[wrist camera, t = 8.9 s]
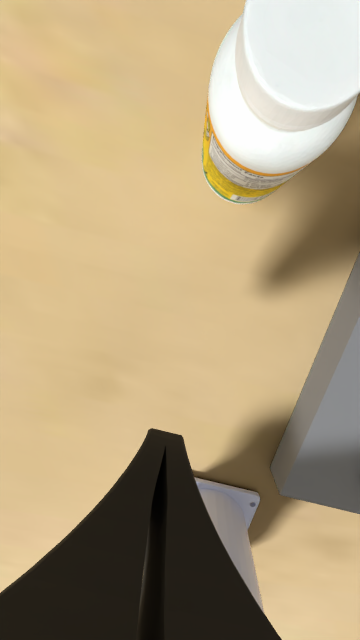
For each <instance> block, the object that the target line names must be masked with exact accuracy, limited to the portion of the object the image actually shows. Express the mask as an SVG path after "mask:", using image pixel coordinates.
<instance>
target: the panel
mask: <svg viewBox="0 0 360 640" xmlns="http://www.w3.org/2000/svg"><path fill="white" fill-rule="evenodd" d="M270 470H271V472H272V475H273V478H274V481H275V483H276V486H277V489H278V491H279V494H280V495H282V496H286V497H290V498H295V499H299V500H303V501H307V502H311V503H315V504H320V505H324V506H328V507H332V508H336V509H341V510H345V511H349V512H353V513H357V514H360V253H359V255H358V257H357V260H356V262H355V265H354V267H353V269H352V272H351V274H350V277H349V279H348V281H347V284H346V286H345V289H344V291H343V293H342V296H341V298H340V301H339V303H338V305H337V308H336V310H335V312H334V315H333V317H332V320H331V322H330V324H329V327H328V329H327V332H326V334H325V336H324V339H323V341H322V344H321V346H320V348H319V351H318V353H317V356H316V358H315V360H314V363H313V365H312V368H311V370H310V372H309V375H308V377H307V380H306V382H305V384H304V387H303V389H302V392H301V394H300V396H299V399H298V401H297V404H296V406H295V408H294V411H293V413H292V415H291V418H290V420H289V423H288V425H287V427H286V430H285V432H284V435H283V437H282V439H281V442H280V444H279V447H278V449H277V451H276V454H275V456H274V459H273V461H272V463H271V466H270Z"/></svg>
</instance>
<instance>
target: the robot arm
mask: <svg viewBox="0 0 360 640" xmlns="http://www.w3.org/2000/svg"><path fill="white" fill-rule="evenodd" d="M251 502H252V503H251ZM259 502H260V496H259V494H258V493H257V492H254V491H250V490H245V489H241V488H237V487H233V486H229V485H224V484H220V483H216V482H212V481H208V480H203V479H199V478H195V477H194V475H193V472H192V469H191V466H190V463H189V459H188V456H187V452H186V448H185V444H184V439H183V437H182V435H178V434H173V433H169V432H165V431H161V430H157V429H153V428H151V429H149V430H148V433H147V436H146V438H145V440H144V442H143V444H142V446H141V447H140V449H139V451H138V452H137V454H136V455H135V457H134V458H133V460H132V461H131V463H130V464H129V466H128V467H127V469H126V470H125V471H124V473H123V474H122V475H121V477H120V478H119V479H118V480H117V482H116V483H115V484H114V486H113V487H112V488H111V489H110V491H109V492H108V493H107V494H106V495H105V496H104V498H103V499H102V500H101V501H100V502H99V503H98V504H97V505H96V507H95V508H94V509H93V510H92V511H91V512H90V513H89V514H88V515H87V516H86V517H85V518H84V519H83V520H82V521H81V522H80V523H79V524H78V525H77V526H76V527H75V528H74V529H73V530H72V531H71V532H70V533H69V534H68V535H67V536H66V537H65V538H64V539H63V540H62V541H61V542H60V543H58V544H57V545H56V546H55V547H54V548H53V549H52V550H51V551H50V552H48V553H47V554H46V555H45V556H44V557H43V558H42V559H41V560H39V561H38V562H37V563H36V564H35V565H34V566H33V567H32V568H30V569H29V570H28V571H27V572H26V573H24V574H23V575H22V576H21V577H20V578H18V579H17V580H16V581H15V582H13V583H12V584H11V585H10V586H8V587H7V588H6V589H5V590H3V591H2V592H1V593H0V640H282V639H281V638H280V637H279V635H278V634H277V632H276V631H275V629H274V628H273V626H272V625H271V623H270V622H269V620H268V619H267V617H266V616H265V614H264V610H263V605H262V600H261V595H260V590H259V585H258V580H257V575H256V570H255V566H254V561H253V556H252V551H251V546H250V541H249V536H248V531H247V530H248V528H249V526H250V523H251V521H252V519H253V516H254V514H255V512H256V509H257V507H258V504H259ZM143 570H144V572H143ZM142 579H143V581H142ZM141 588H142V589H141Z"/></svg>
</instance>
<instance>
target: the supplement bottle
mask: <svg viewBox="0 0 360 640" xmlns="http://www.w3.org/2000/svg"><path fill="white" fill-rule="evenodd" d="M359 93H360V0H246V3H245V6H244V10H243V14H242V15H241V16H240V17H239V18H238V19H237V20H236V22H235V23H234V24H233V25H232V27H231V28H230V30H229V31H228V33H227V34H226V36H225V38H224V39H223V41H222V43H221V45H220V48H219V50H218V52H217V55H216V58H215V61H214V64H213V67H212V72H211V77H210V83H209V90H208V99H207V106H206V115H205V125H204V136H203V145H202V169H203V173H204V176H205V179H206V181H207V183H208V185H209V186H210V188H211V189H212V190H213V191H214V192H215V193H216V194H217V195H218V196H219V197H220V198H222V199H224V200H226V201H228V202H231V203H234V204H251V203H255V202H257V201H260V200H262V199H264V198H266V197H267V196H269V195H270V194H272V193H273V192H274V191H276V190H277V189H278V188H279V187H280V186H282V185H283V184H284V183H285V182H287V181H288V180H289V179H290V178H292V177H293V176H294V175H296V174H297V173H298V172H300V171H301V170H302V169H304V168H305V167H306V166H307V165H309V164H310V163H311V162H313V161H314V160H315V159H316V158H318V157H319V156H320V155H321V154H322V153H323V152H325V151H326V150H327V149H328V148H329V147H330V146H331V144H332V143H333V142H334V141H335V140H336V138H337V137H338V136H339V134H340V133H341V131H342V130H343V128H344V127H345V125H346V123H347V122H348V120H349V118H350V116H351V113H352V111H353V109H354V106H355V103H356V100H357V97H358V94H359Z"/></svg>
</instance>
